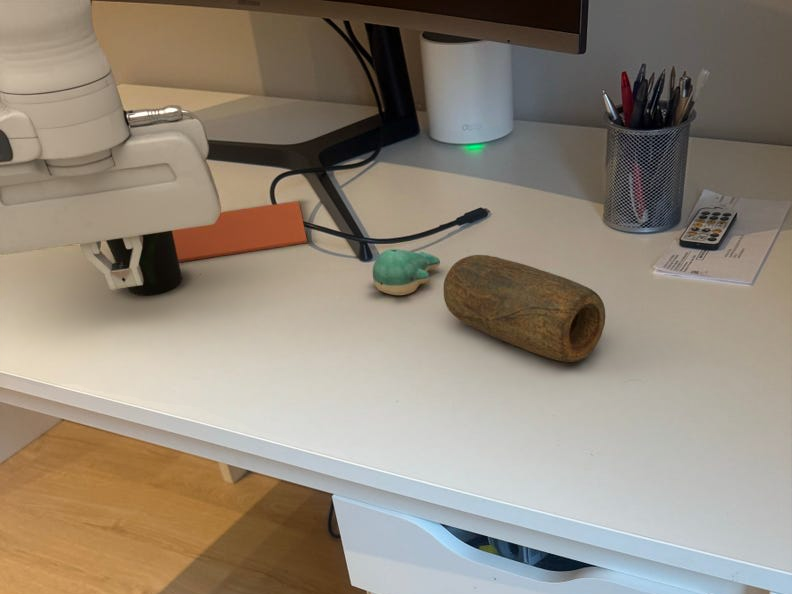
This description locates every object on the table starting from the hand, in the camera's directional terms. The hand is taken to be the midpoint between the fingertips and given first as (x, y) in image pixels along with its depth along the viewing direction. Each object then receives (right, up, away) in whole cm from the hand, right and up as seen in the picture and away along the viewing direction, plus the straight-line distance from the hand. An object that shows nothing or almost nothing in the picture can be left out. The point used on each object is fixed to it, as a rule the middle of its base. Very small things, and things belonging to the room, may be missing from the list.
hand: (127, 285), depth 83 cm
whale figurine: (+25, +3, +7) cm, 26 cm away
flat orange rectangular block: (+3, +13, +18) cm, 23 cm away
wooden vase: (+36, -6, -3) cm, 37 cm away
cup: (-1, +4, +11) cm, 11 cm away
